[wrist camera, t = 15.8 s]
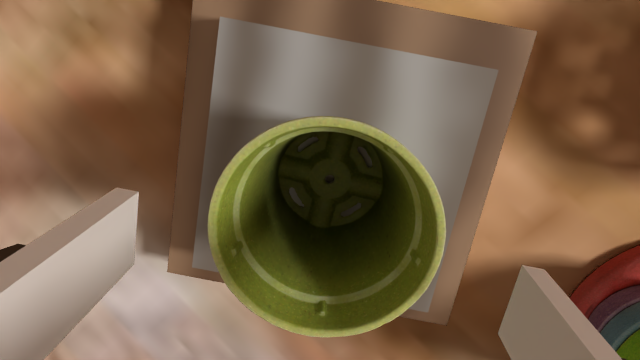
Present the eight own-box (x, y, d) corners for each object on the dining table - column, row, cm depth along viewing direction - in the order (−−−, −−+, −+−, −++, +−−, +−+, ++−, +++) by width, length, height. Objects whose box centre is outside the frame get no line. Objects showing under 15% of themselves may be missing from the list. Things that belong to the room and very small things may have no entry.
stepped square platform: (181, 253, 35) (149, 294, 29) (210, -27, 29) (177, -44, 23) (438, 302, 35) (456, 353, 29) (518, 32, 29) (560, 29, 23)
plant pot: (355, 58, 24) (359, 65, 16) (444, 197, 26) (490, 268, 18) (218, 153, 26) (159, 203, 18) (311, 276, 28) (297, 373, 20)
